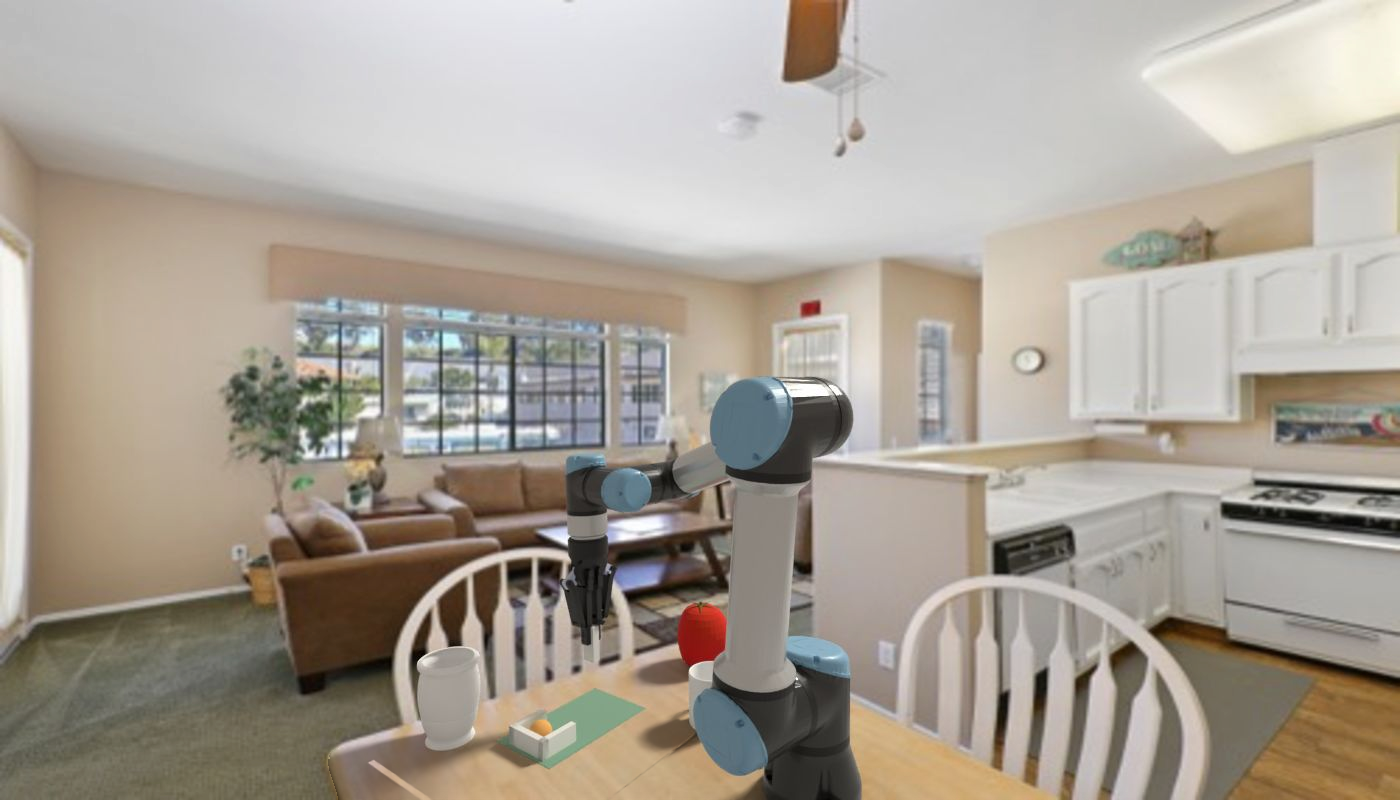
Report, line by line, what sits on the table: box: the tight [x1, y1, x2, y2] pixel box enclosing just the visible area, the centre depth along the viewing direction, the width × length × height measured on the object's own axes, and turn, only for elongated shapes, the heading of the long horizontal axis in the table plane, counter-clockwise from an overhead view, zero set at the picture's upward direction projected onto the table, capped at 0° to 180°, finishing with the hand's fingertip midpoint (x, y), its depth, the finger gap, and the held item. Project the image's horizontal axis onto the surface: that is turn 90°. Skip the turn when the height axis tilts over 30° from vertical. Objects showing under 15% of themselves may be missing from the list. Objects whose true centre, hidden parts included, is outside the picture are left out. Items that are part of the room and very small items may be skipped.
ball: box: [529, 719, 552, 737], centre depth 113 cm, size 4×4×4 cm
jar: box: [416, 645, 481, 752], centre depth 115 cm, size 11×10×15 cm
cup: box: [688, 661, 714, 731], centre depth 121 cm, size 8×12×10 cm
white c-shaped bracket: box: [508, 707, 576, 761], centre depth 113 cm, size 9×7×3 cm
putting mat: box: [496, 687, 647, 770], centre depth 119 cm, size 14×24×1 cm, turn 144°
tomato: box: [677, 601, 727, 668], centre depth 145 cm, size 13×11×14 cm
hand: (591, 659), depth 121 cm, fingers closed
